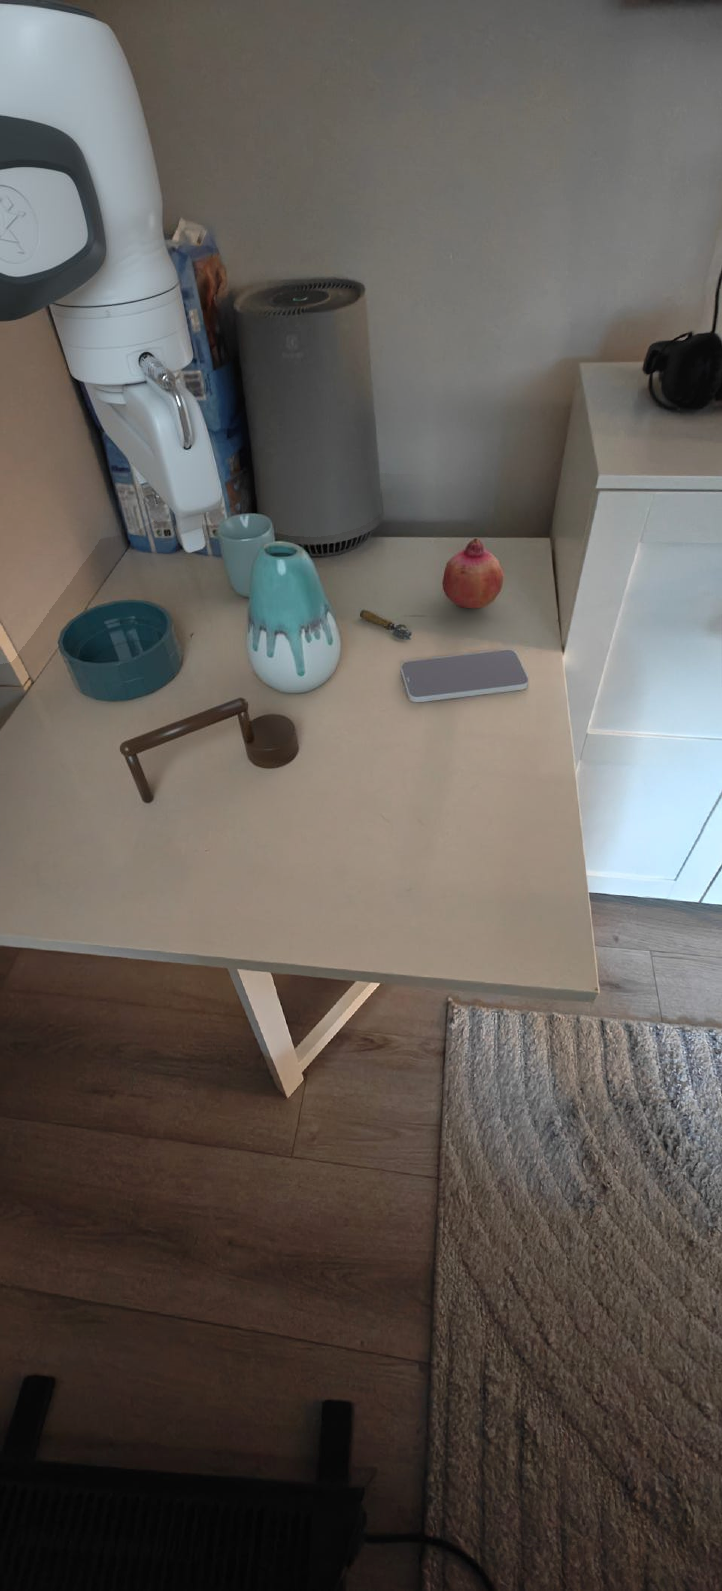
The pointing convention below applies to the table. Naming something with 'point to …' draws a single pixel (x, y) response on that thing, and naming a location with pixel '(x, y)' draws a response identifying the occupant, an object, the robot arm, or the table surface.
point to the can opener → (387, 625)
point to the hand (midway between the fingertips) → (173, 523)
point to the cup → (243, 546)
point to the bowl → (120, 649)
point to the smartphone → (463, 675)
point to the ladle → (263, 736)
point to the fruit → (473, 577)
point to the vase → (290, 621)
